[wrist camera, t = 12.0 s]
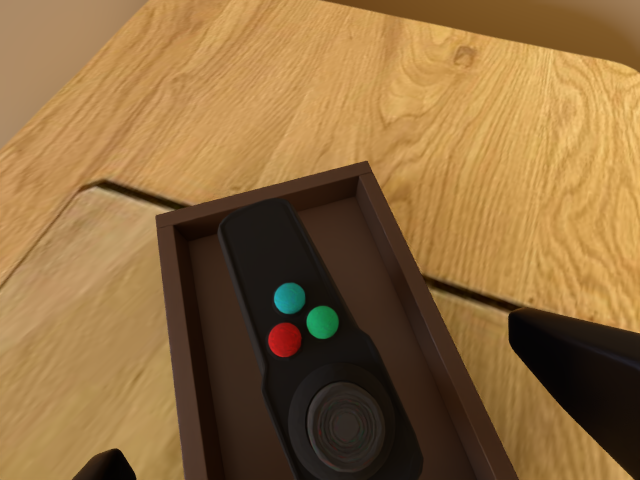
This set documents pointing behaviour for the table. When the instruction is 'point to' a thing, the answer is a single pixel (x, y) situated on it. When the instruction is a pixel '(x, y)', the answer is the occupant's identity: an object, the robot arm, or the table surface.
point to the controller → (314, 354)
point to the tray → (363, 302)
